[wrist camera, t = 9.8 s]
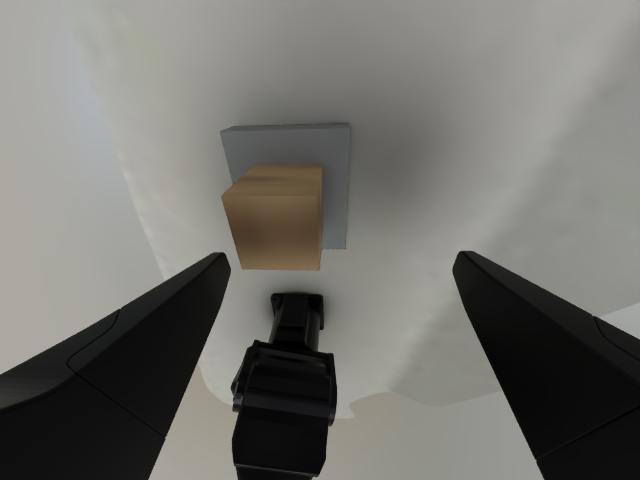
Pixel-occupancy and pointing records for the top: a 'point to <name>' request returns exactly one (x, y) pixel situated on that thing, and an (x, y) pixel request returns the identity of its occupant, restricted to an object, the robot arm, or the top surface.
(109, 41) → the top surface
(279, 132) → the slate slab
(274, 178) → the teak block
